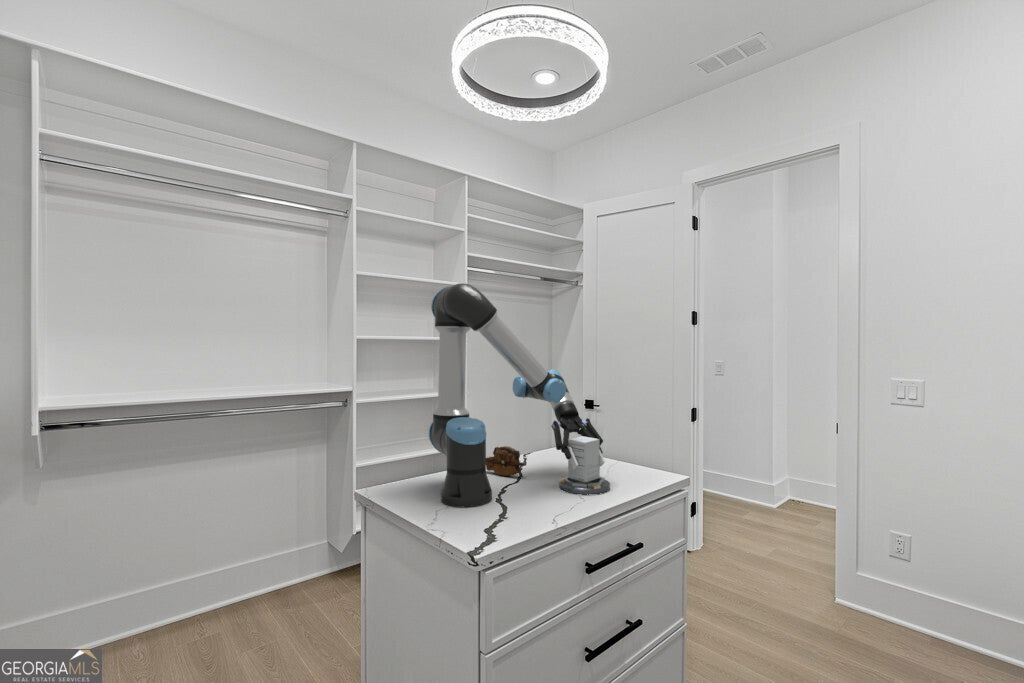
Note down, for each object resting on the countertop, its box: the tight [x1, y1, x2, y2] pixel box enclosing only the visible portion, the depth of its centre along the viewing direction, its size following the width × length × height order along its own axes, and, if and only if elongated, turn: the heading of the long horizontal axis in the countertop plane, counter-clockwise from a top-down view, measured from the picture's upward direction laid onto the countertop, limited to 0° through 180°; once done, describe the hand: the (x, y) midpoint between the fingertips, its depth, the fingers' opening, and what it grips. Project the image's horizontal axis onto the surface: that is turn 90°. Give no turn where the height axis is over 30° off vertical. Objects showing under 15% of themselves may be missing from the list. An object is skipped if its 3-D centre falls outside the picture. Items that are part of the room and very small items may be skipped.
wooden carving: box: [486, 445, 526, 477], centre depth 175 cm, size 16×5×10 cm, turn 60°
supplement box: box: [567, 435, 601, 482], centre depth 159 cm, size 7×7×13 cm
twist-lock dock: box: [558, 475, 611, 496], centre depth 159 cm, size 16×16×3 cm
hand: (589, 465), depth 156 cm, fingers closed on supplement box, 9 cm apart
